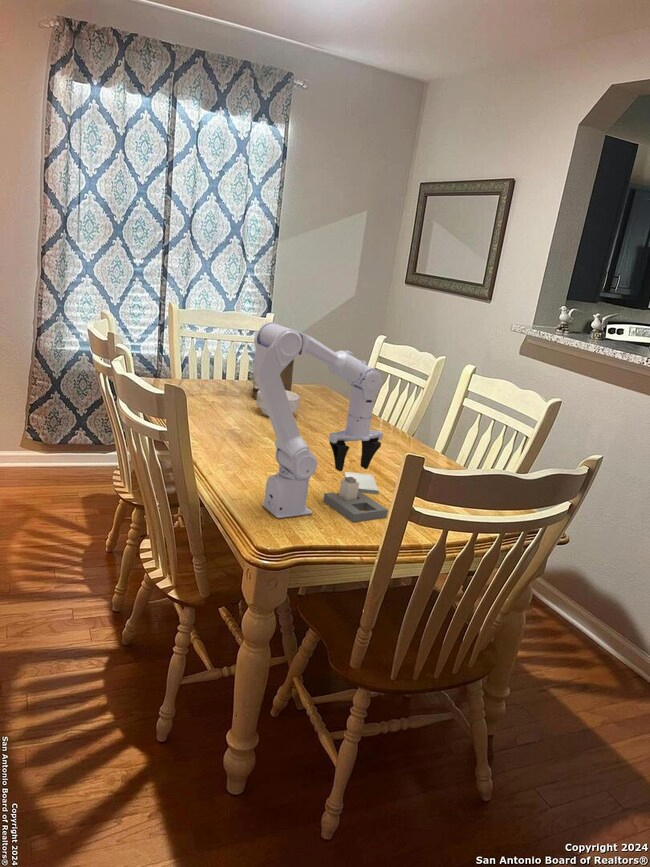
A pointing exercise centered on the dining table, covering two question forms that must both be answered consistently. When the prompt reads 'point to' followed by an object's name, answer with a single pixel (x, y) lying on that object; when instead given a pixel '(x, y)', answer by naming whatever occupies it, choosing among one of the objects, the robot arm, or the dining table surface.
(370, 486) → the hard drive
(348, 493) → the plug
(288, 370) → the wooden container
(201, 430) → the dining table surface
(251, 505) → the dining table surface
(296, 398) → the paper bowls
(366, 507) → the socket panel
